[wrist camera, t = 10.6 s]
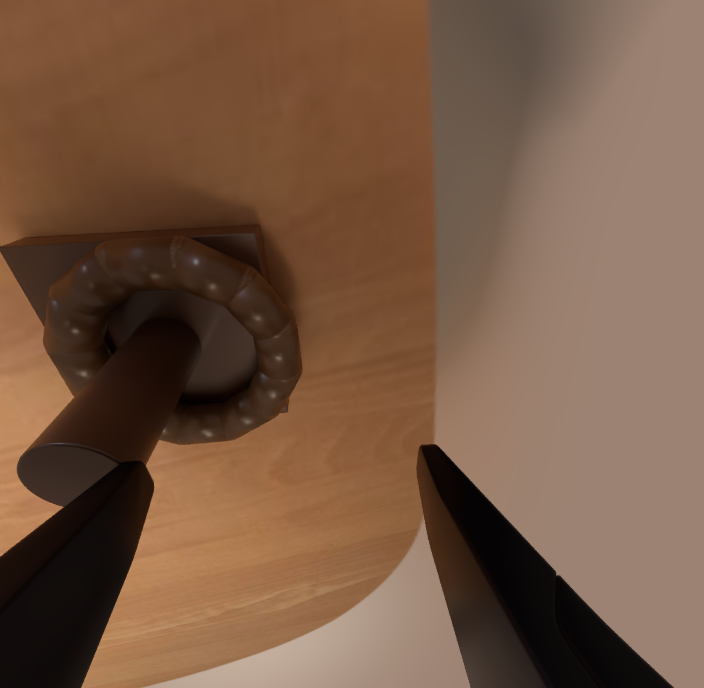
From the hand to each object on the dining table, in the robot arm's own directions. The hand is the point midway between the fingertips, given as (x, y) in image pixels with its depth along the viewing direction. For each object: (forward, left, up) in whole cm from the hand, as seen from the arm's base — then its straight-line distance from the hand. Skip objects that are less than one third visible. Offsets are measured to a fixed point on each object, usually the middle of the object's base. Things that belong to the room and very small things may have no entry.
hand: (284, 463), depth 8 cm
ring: (+4, 0, -5) cm, 7 cm away
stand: (+5, 0, -7) cm, 9 cm away
